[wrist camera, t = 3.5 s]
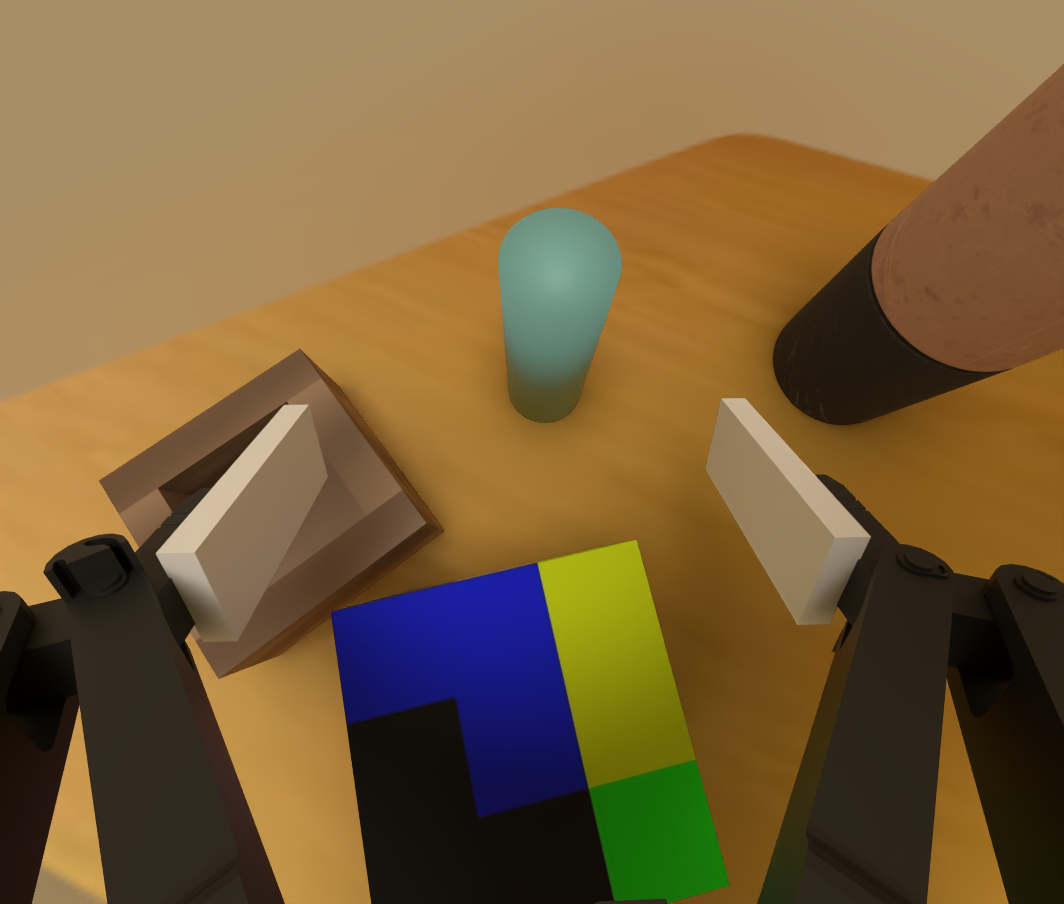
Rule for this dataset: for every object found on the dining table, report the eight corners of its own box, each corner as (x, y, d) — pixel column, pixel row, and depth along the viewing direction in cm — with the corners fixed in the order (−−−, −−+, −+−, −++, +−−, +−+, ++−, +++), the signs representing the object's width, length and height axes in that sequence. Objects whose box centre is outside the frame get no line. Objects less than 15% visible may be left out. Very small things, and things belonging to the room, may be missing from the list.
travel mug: (811, 281, 30) (1373, -267, 10) (924, 355, 29) (1786, -87, 9) (742, 376, 28) (1237, -45, 9) (858, 457, 27) (1709, 194, 8)
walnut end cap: (444, 530, 26) (426, 523, 21) (279, 655, 24) (218, 678, 20) (339, 386, 28) (299, 348, 23) (178, 495, 26) (99, 480, 21)
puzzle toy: (404, 592, 25) (330, 612, 16) (593, 547, 26) (636, 539, 16) (441, 807, 23) (382, 984, 14) (645, 752, 24) (730, 885, 14)
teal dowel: (594, 394, 28) (646, 272, 16) (538, 436, 27) (549, 342, 15) (550, 341, 28) (569, 186, 17) (494, 381, 28) (473, 251, 16)
